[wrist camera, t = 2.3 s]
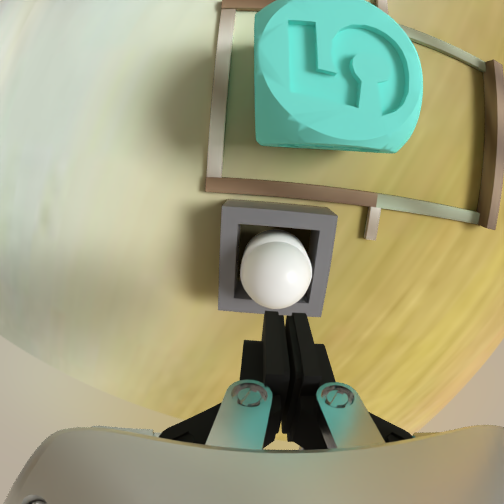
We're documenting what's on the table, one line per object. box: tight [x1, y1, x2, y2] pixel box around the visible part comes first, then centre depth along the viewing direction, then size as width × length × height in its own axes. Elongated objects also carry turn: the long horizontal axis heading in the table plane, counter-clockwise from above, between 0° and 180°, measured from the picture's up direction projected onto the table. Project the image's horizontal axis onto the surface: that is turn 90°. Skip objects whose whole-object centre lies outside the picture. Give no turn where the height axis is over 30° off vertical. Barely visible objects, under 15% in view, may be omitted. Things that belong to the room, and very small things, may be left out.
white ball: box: [240, 229, 312, 309], centre depth 17 cm, size 4×4×4 cm
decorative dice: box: [254, 0, 423, 153], centre depth 14 cm, size 8×8×8 cm
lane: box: [205, 0, 504, 240], centre depth 17 cm, size 20×24×2 cm
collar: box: [218, 199, 338, 317], centre depth 20 cm, size 7×7×3 cm
